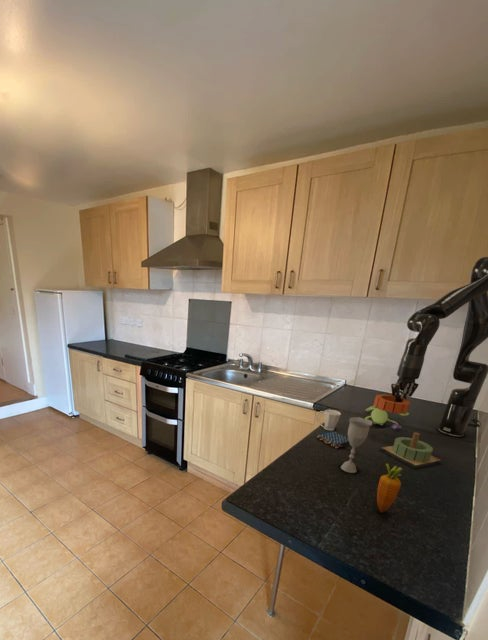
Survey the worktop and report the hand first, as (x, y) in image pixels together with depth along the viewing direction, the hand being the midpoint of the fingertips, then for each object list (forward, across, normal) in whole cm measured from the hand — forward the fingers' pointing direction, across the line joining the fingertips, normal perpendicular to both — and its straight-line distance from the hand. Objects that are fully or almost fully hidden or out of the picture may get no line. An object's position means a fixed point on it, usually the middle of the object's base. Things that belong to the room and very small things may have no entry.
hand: (398, 406), depth 136 cm
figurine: (+15, +15, +16) cm, 27 cm away
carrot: (+15, -48, -35) cm, 61 cm away
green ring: (+14, -7, -14) cm, 21 cm away
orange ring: (0, -5, 0) cm, 5 cm away
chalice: (+15, -38, -14) cm, 43 cm away
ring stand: (+15, -7, -14) cm, 22 cm away
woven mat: (+15, -26, +5) cm, 31 cm away
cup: (+15, -19, +17) cm, 30 cm away
